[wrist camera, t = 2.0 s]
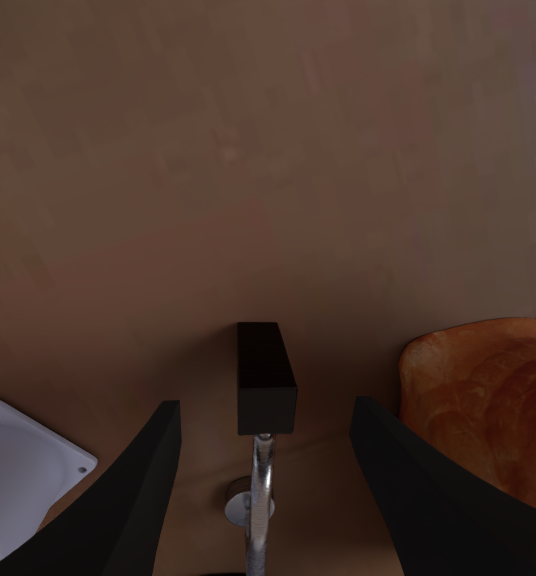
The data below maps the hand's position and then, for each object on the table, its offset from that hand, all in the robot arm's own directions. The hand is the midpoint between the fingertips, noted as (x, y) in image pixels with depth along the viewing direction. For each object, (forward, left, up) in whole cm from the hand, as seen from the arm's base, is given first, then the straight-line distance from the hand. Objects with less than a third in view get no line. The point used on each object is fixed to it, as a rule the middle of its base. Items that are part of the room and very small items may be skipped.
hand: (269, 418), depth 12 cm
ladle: (-5, -5, -7) cm, 9 cm away
